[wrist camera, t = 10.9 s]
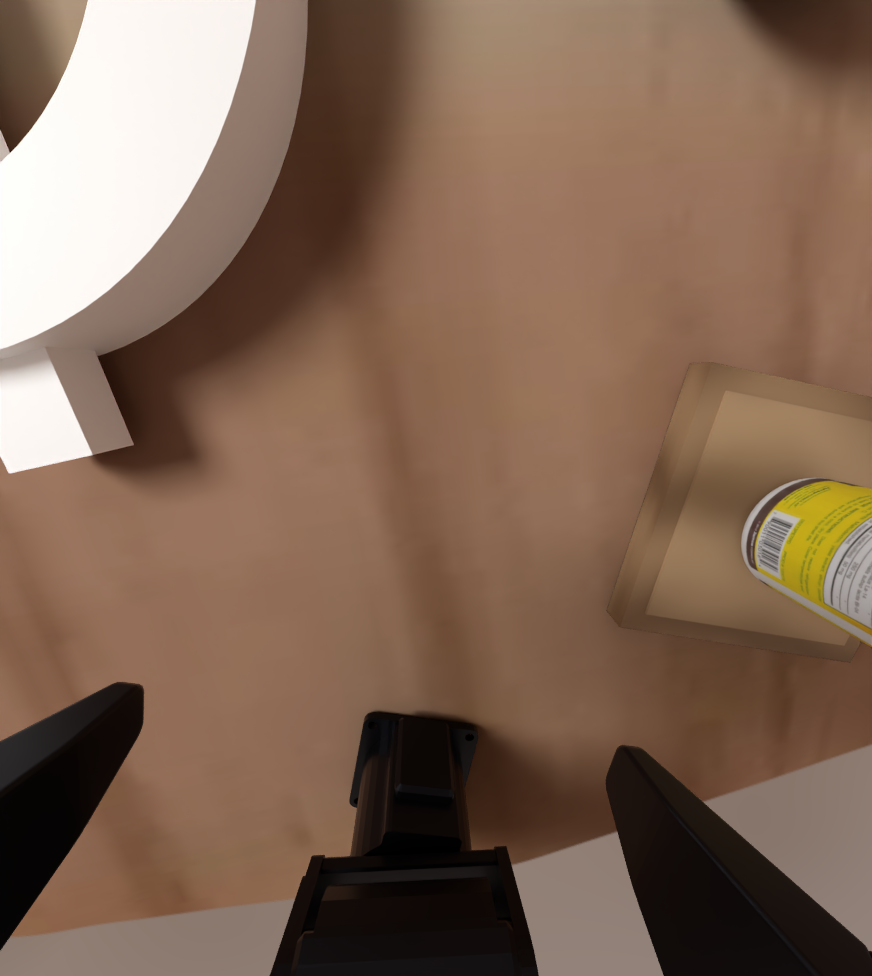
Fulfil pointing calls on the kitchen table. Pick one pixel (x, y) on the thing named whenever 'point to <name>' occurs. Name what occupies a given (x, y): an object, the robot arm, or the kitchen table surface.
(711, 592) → the walnut base
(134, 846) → the kitchen table surface
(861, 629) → the supplement bottle
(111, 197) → the white circle with bar
